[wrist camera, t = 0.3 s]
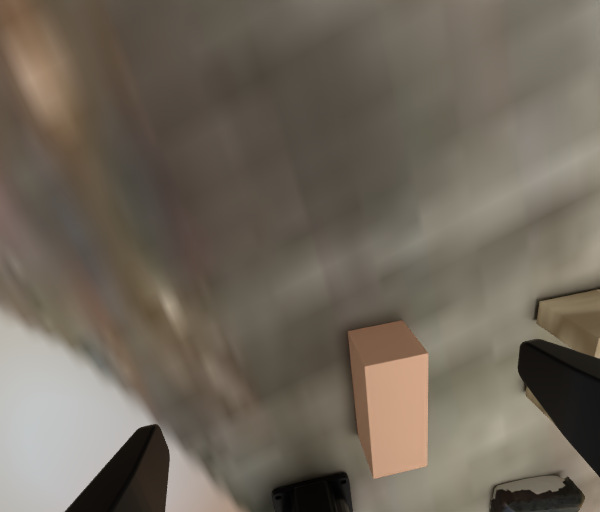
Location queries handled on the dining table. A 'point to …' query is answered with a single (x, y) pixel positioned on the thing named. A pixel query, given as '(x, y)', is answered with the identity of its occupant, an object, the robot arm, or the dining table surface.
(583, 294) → the block
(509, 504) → the statue
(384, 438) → the peg
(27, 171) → the dining table surface
